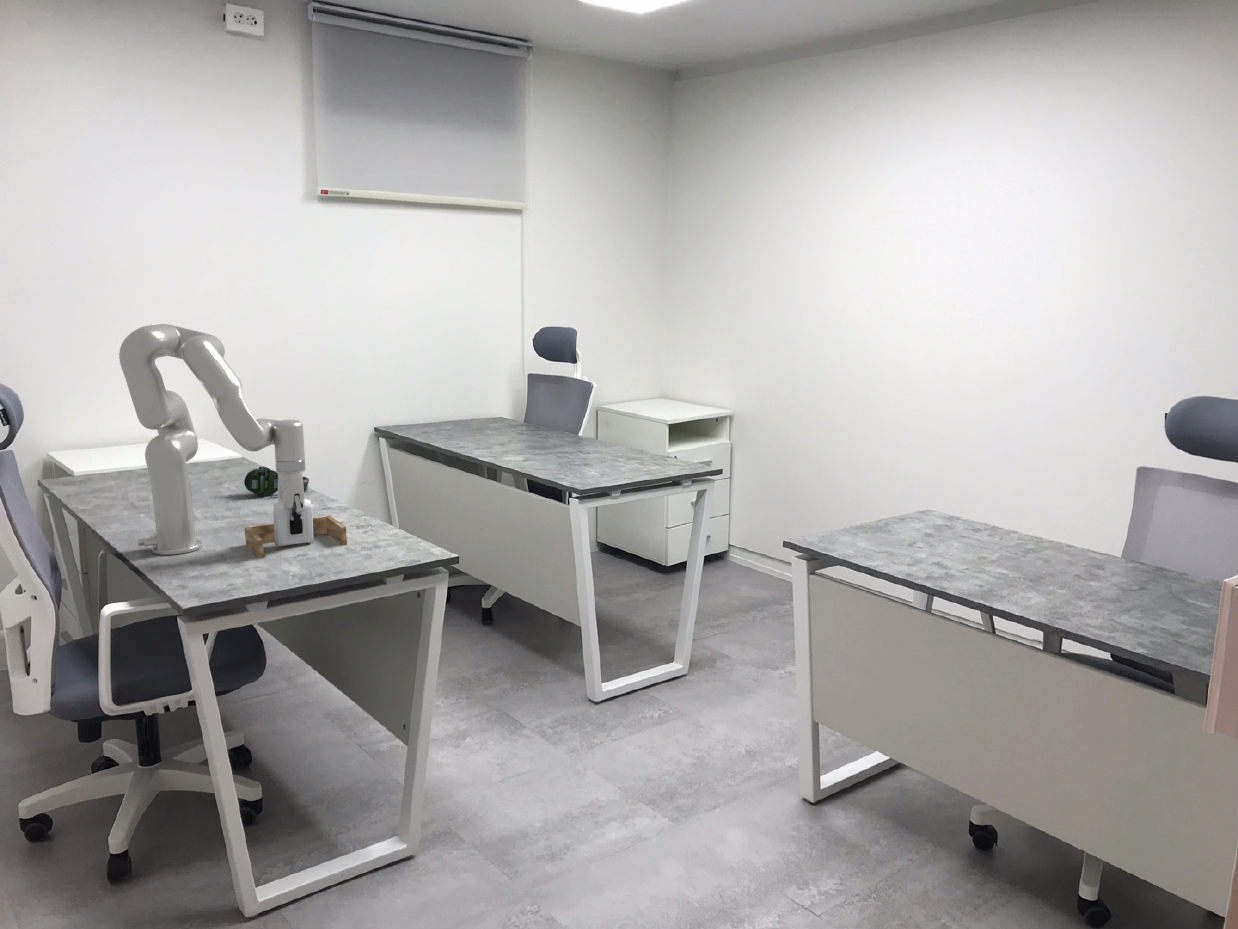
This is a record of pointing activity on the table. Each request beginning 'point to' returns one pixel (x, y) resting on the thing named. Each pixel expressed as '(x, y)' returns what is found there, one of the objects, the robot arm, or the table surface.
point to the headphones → (265, 481)
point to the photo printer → (283, 525)
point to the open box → (266, 534)
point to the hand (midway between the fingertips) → (294, 531)
